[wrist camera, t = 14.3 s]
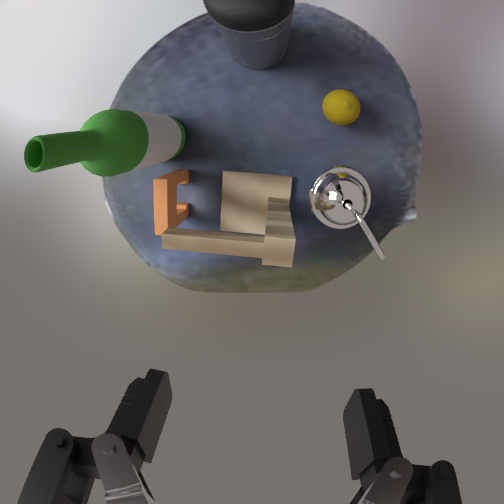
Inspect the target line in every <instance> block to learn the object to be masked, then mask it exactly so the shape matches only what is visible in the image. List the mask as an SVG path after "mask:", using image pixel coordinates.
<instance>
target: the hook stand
mask: <svg viewBox="0 0 504 504" xmlns="http://www.w3.org/2000/svg"><path fill="white" fill-rule="evenodd" d="M291 185H292V176H284V175H274V174H263V173H251V172H237V171H223V180H222V201H221V225H220V231H231V232H242V233H253V234H264V235H265V236H258V235H247V234H237V233H226V232H214V231H203V230H191V229H179V228H167V229H166V230H165V231H164V232H163V233H162V248H166V249H176V250H186V251H196V252H206V253H216V254H226V255H236V256H246V257H257V258H263V260H262V264H263V265H273V266H284V267H292V262H293V255H294V248H295V241H296V238H295V233H294V229H293V224H292V219H291V214H290V210H289V204H290V195H291Z"/></svg>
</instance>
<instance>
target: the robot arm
mask: <svg viewBox="0 0 504 504" xmlns="http://www.w3.org/2000/svg"><path fill="white" fill-rule="evenodd" d="M203 1H204V4H205V7H206V9H207V11H208V12H209V14H210V16H211V17H212V19H213V21H214V23H215V24H216V26H217V28H218V30H219V32H220V33H221V35H222V37H223V39H224V41H225V43H226V44H227V46H228V48H229V50H230V52H231V54H232V56H233V57H234V59H235V60H236V61H237V62H238V63H239V64H241V65H243V66H244V67H247V68H250V69H266V68H270V67H272V66H275V65H276V64H278V63H279V62H280V61H281V60H282V59H283V58H284V56H285V55H286V52H287V48H288V42H289V35H290V29H291V22H292V16H293V9H294V3H295V0H203ZM171 401H172V390H171V386H170V380H169V375H168V372H165V371H160V370H156V369H150V370H149V371H148V373H147V375H146V377H145V379H142V378H139V377H138V378H137V379H135V380H134V381H133V382H132V383H131V384H130V385H129V386H128V388H127V390H126V392H125V396H123V398H122V400H121V403H120V405H119V407H118V409H117V411H116V413H115V415H114V417H113V419H112V421H111V423H110V425H109V427H108V429H107V431H106V432H105V433H104V434H101V435H99V436H97V437H96V438H83V437H74V436H72V435H71V434H70V433H69V432H68V431H67V430H65V429H61V428H56V429H53V430H51V431H49V432H48V434H47V435H46V437H45V439H44V441H43V443H42V445H41V447H40V450H39V452H38V454H37V456H36V459H35V461H34V463H33V465H32V467H31V470H30V472H29V475H28V477H27V479H26V482H25V484H24V487H23V489H22V492H21V495H20V498H19V500H18V503H17V504H87V502H88V499H89V495H90V492H91V489H92V486H93V483H94V480H95V478H96V479H101V480H102V483H103V486H104V488H105V492H106V495H105V501H106V504H158V503H157V501H156V499H155V497H154V495H153V494H152V491H151V490H150V487H149V486H148V483H147V481H146V479H145V477H144V475H143V473H142V471H141V467H142V464H143V461H145V462H148V463H151V462H152V458H153V456H154V452H155V449H156V446H157V443H158V440H159V437H160V434H161V431H162V429H163V426H164V423H165V420H166V417H167V414H168V411H169V408H170V405H171ZM343 421H344V427H345V434H346V440H347V447H348V454H349V460H350V468H351V476H352V480H358V479H360V481H361V485H360V486H359V487H358V489H357V490H356V492H355V493H354V495H353V496H352V498H351V499H350V500H349V502H348V503H347V504H398V503H399V504H462V501H461V497H460V492H459V486H458V482H457V478H456V473H455V470H454V467H453V465H452V464H451V463H449V462H448V461H443V460H441V461H438V462H436V463H434V464H433V465H432V466H423V465H414V464H411V462H410V461H409V460H407V459H406V458H404V457H403V456H402V453H401V450H400V446H399V442H398V439H397V435H396V432H395V428H394V427H393V422H392V419H391V414H390V411H389V408H388V406H387V405H386V404H385V403H384V401H383V400H382V399H376V397H375V393H374V391H373V389H372V388H367V389H355V390H354V392H353V394H352V396H351V397H350V399H349V401H348V403H347V405H346V407H345V409H344V413H343Z"/></svg>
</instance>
